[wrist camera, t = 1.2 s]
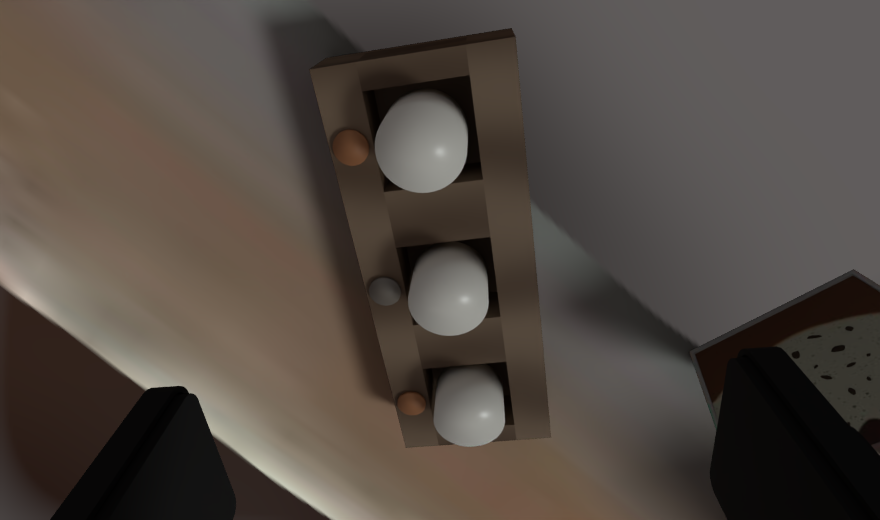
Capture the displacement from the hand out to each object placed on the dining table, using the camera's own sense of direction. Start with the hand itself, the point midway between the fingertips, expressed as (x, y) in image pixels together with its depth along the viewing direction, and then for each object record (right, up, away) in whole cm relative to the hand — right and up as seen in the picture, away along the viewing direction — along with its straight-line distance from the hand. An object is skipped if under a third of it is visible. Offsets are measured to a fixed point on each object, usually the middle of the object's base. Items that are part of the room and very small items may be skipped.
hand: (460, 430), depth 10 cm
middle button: (0, +2, +19) cm, 19 cm away
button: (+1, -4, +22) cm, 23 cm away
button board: (0, +3, +21) cm, 21 cm away
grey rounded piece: (-1, +9, +15) cm, 18 cm away
